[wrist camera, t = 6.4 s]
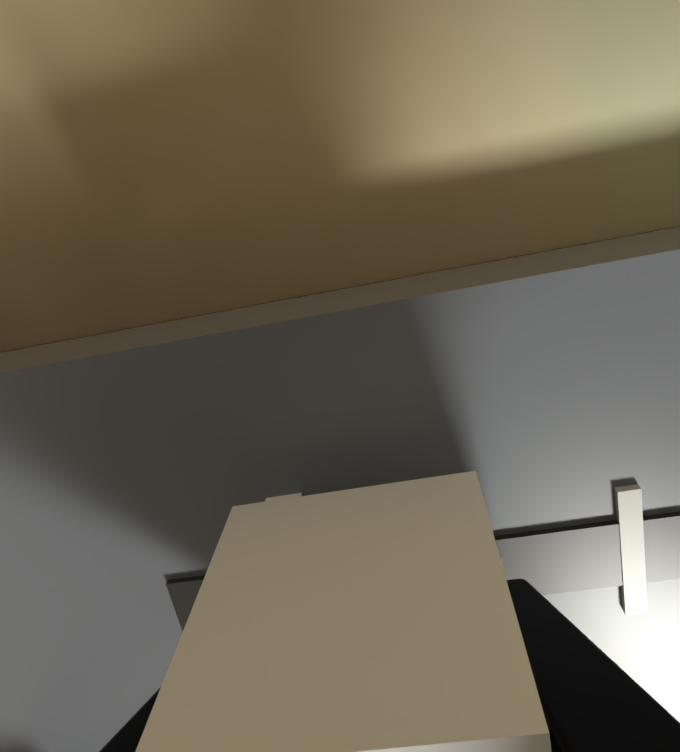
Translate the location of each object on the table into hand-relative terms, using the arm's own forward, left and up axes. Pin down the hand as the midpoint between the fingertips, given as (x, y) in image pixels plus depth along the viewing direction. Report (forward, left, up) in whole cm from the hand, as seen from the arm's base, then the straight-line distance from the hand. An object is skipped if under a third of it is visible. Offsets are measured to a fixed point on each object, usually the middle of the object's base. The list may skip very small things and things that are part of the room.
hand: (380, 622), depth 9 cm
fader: (0, 0, -1) cm, 1 cm away
